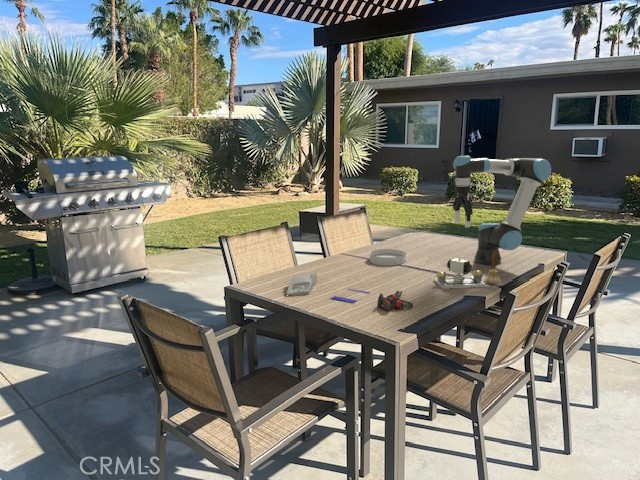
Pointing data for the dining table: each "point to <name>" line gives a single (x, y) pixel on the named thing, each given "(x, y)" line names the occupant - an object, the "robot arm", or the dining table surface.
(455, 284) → the plate
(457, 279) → the pneumatic valve
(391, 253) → the dish
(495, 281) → the hand bell
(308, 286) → the ramp
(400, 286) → the dining table surface
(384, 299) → the grey red jointed piece
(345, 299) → the flat strips
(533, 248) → the dining table surface
